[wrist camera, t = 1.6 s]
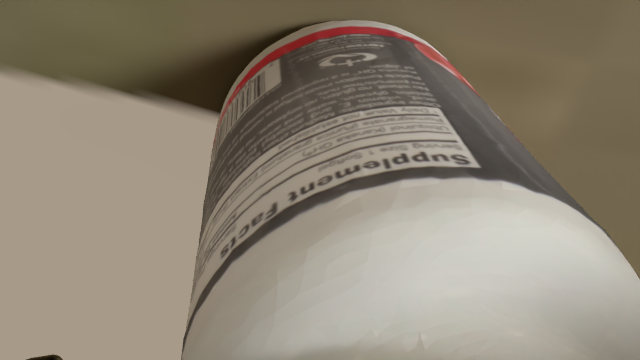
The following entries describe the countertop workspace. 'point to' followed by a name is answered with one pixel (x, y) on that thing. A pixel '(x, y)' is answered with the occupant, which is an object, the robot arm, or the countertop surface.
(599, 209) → the countertop surface
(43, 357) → the robot arm
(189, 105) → the countertop surface
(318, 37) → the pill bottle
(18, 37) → the countertop surface
